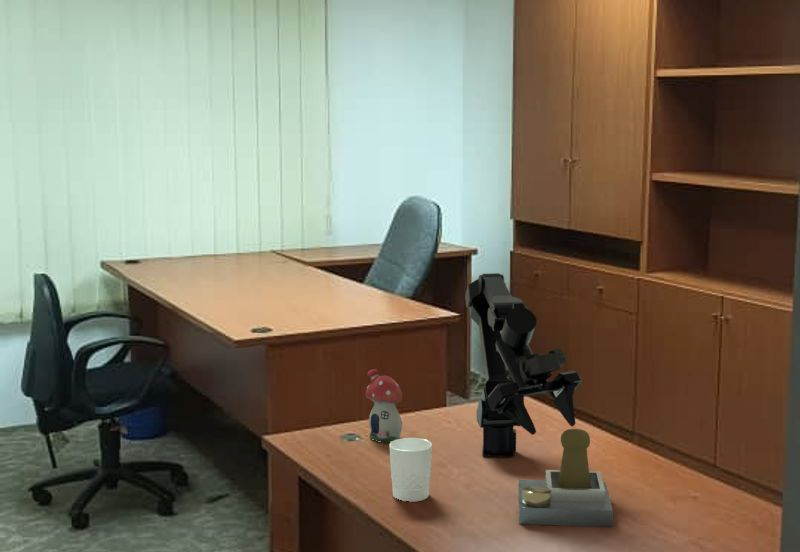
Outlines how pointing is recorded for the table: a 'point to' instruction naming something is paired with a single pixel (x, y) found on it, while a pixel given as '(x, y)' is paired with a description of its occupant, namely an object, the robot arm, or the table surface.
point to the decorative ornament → (384, 407)
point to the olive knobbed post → (574, 460)
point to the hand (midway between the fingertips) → (554, 429)
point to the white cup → (410, 468)
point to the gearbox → (564, 502)
